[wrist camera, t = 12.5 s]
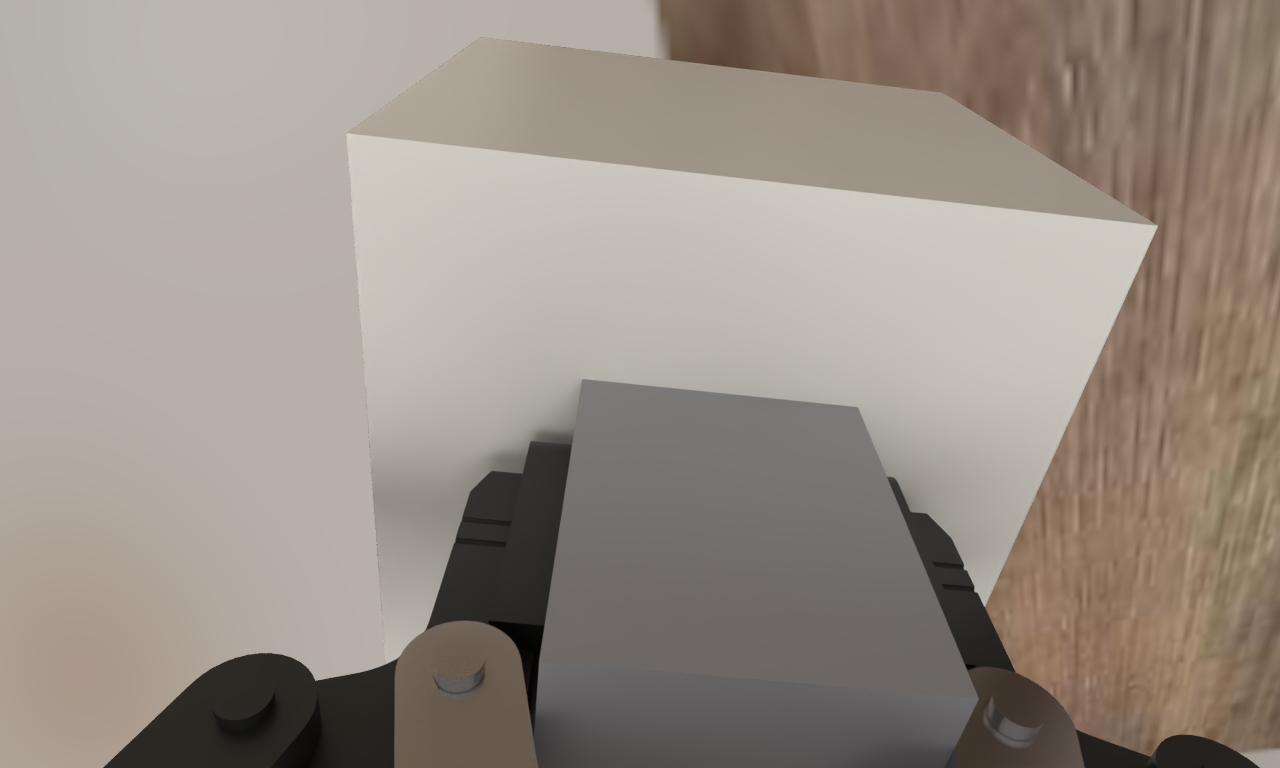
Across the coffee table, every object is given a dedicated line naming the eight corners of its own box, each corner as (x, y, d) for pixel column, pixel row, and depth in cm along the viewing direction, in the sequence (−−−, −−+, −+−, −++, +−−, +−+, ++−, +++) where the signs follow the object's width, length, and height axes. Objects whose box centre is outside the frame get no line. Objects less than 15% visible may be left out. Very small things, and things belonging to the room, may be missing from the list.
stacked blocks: (942, 92, 18) (1529, 455, 6) (835, 464, 23) (1032, 1059, 11) (480, 36, 17) (101, 308, 5) (477, 428, 22) (278, 1008, 11)
